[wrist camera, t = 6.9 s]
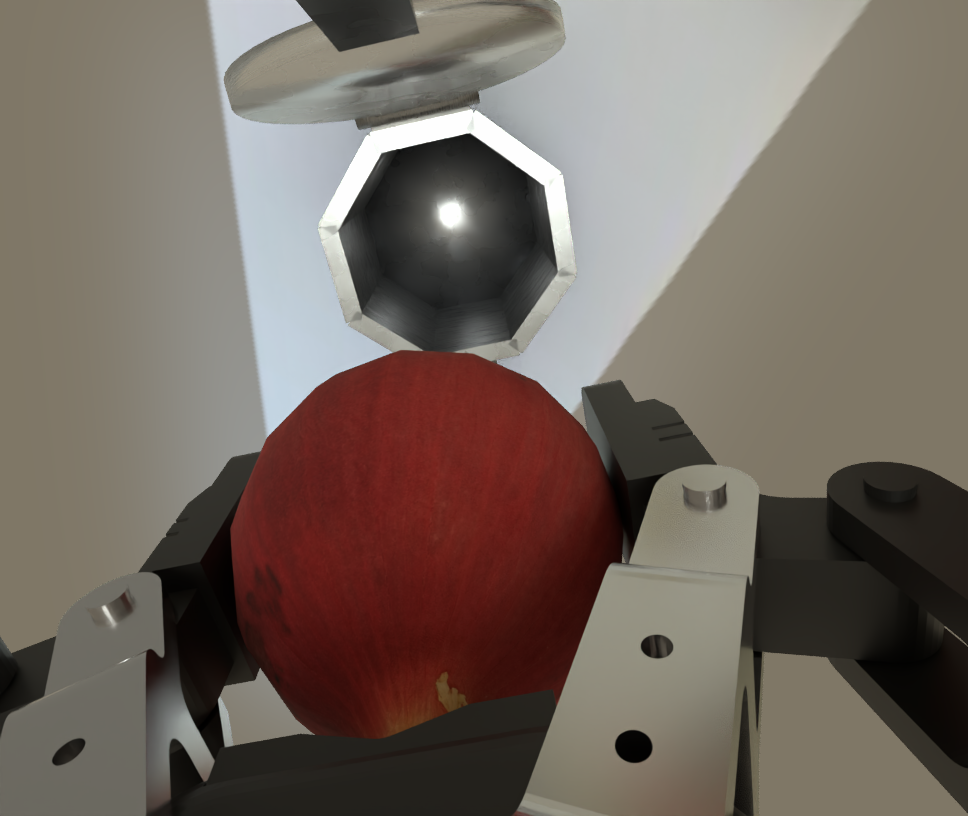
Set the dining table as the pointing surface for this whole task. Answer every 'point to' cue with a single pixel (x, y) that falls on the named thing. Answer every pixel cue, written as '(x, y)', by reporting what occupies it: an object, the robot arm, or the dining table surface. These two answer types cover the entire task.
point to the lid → (390, 59)
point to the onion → (420, 543)
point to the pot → (449, 237)
